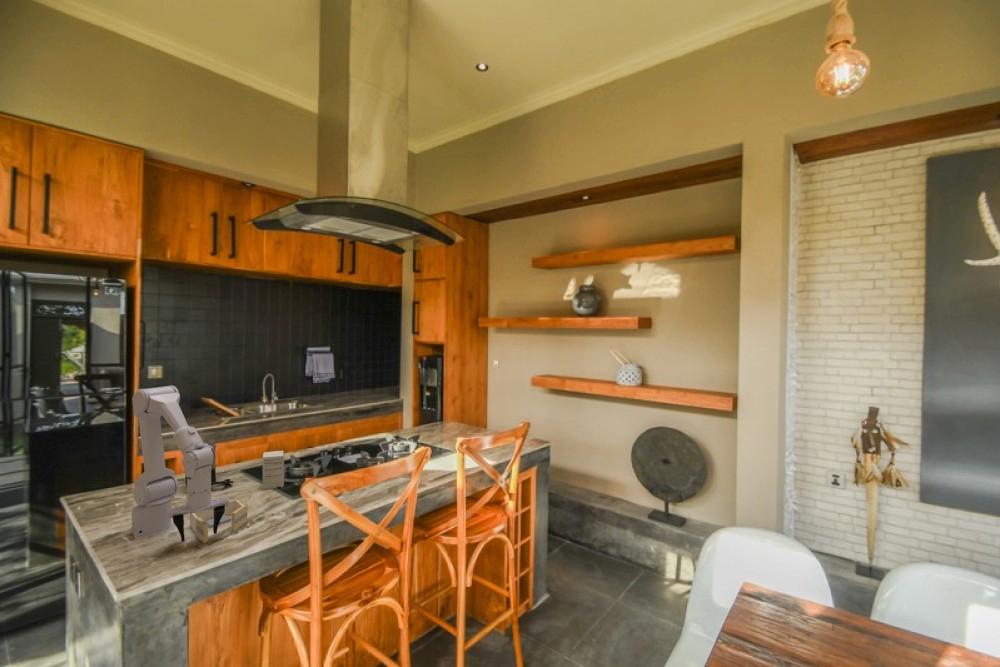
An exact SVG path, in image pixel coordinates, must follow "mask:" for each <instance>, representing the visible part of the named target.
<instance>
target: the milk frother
mask: <svg viewBox="0 0 1000 667" xmlns="http://www.w3.org/2000/svg"><path fill="white" fill-rule="evenodd" d="M207 444H208V445H209V446H212V447H213V448H214V451H215V453H217V452H216V451H217V450H216V449H217V445H216V444H211V443H210V444H209V443H207ZM216 462H217V460H215V463H214V464H213V465H211V487H212V486H216V485H222V486H224V487H229V486H230V485H231V484H234V480H231V479H230V478H226V479H224V480H222V481H217V479H216V478H217V477H216V476H217V474H216V472H217V471H216V469H217V468H216V465H217V464H216ZM184 477H185V478H184V479H185V486H187V476H184Z"/></svg>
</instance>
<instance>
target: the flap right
mask: <svg viewBox="0 0 1000 667" xmlns="http://www.w3.org/2000/svg"><path fill="white" fill-rule="evenodd" d="M247 522H248V504H247V503H246V504H243V506H242V507H240V508H239V509H237V510H236V511H234V512H233V513H232V524H231V531H236V530H238V529H239V528H241V527H242V526H243V525H244V524H246V523H247Z"/></svg>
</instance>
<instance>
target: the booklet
mask: <svg viewBox="0 0 1000 667" xmlns="http://www.w3.org/2000/svg"><path fill="white" fill-rule="evenodd" d="M229 521H231V518H229V517H227V516H226V515H223V516H222V518H221V520H220V522H219V525H221V524H224V523H226V522H229ZM206 522H207V523H208V527H210V528H212V527H213V524H214V518H213V519H210V520H207V521H206Z"/></svg>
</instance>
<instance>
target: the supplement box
mask: <svg viewBox="0 0 1000 667" xmlns="http://www.w3.org/2000/svg"><path fill="white" fill-rule="evenodd" d="M284 451H285V450H275V451H265V452H263V453H262V490H263V491H264V490H272V489H273V490H274V489H278V488H277V487H281V488H284V484H285V457H284V456H285V455H284V454H285V453H284Z"/></svg>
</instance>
